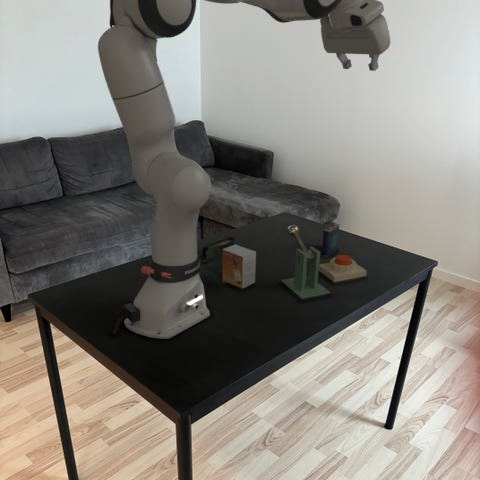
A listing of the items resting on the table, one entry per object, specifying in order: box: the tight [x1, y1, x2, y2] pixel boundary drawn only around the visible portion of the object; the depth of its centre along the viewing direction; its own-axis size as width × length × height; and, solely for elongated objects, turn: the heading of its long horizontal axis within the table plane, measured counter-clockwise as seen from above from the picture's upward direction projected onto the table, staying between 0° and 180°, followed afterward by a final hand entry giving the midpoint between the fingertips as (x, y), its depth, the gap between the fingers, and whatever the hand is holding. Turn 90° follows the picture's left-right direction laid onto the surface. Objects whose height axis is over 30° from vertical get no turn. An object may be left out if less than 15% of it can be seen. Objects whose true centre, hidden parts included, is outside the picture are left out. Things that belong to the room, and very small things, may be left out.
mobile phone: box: [202, 236, 235, 264], centre depth 154 cm, size 5×3×15 cm
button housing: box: [319, 257, 368, 283], centre depth 141 cm, size 11×9×4 cm
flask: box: [321, 221, 340, 256], centre depth 155 cm, size 9×3×11 cm, turn 147°
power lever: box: [287, 224, 315, 265], centre depth 132 cm, size 13×3×3 cm, turn 23°
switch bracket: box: [280, 246, 331, 300], centre depth 131 cm, size 12×9×12 cm
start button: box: [335, 254, 352, 266], centre depth 140 cm, size 4×4×2 cm
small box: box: [221, 243, 257, 289], centre depth 134 cm, size 8×6×10 cm
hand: (360, 68), depth 124 cm, fingers open, 8 cm apart
